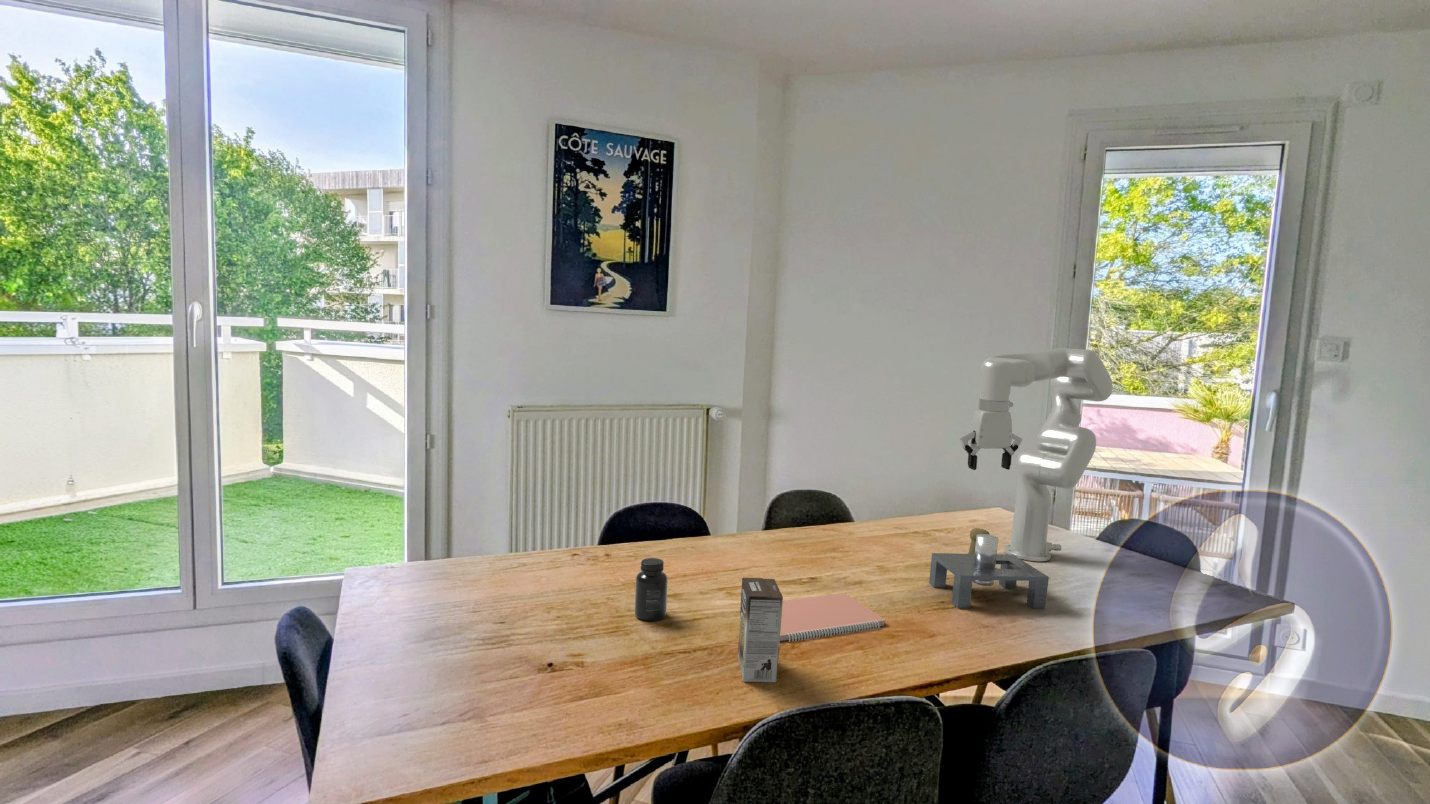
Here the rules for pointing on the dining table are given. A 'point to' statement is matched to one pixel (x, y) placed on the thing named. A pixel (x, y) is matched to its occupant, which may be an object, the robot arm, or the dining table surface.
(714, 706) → the dining table surface
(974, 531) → the cork
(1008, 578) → the grey windowed bracket
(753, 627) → the coffee box
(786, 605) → the notebook
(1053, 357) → the robot arm
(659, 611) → the supplement bottle
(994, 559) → the peg
